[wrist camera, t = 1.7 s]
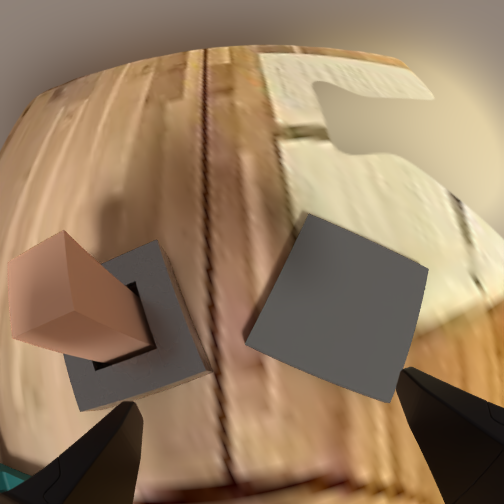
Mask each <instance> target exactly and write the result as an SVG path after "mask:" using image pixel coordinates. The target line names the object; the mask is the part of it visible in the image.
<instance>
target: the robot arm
mask: <svg viewBox="0 0 504 504" xmlns="http://www.w3.org/2000/svg"><path fill="white" fill-rule="evenodd" d="M396 392H397V395H398V397H399V400H400V403H401V405H402V408H403V411H404V414H405V416H406V419H407V422H408V424H409V427H410V429H411V431H412V433H413V435H414V437H415V439H416V441H417V443H418V445H419V447H420V449H421V451H422V453H423V456H424V458H425V460H426V462H427V464H428V466H429V468H430V471H431V473H432V475H433V477H434V479H435V482H436V484H437V486H438V488H439V491H440V493H441V495H442V498H443V500H444V502H445V504H504V408H503V407H500V406H498V405H495V404H493V403H490V402H487V401H486V400H483V399H481V398H479V397H477V396H474V395H472V394H470V393H468V392H465V391H463V390H461V389H459V388H457V387H454V386H452V385H450V384H448V383H446V382H444V381H441V380H439V379H437V378H435V377H433V376H431V375H428V374H426V373H424V372H422V371H420V370H418V369H416V368H414V367H408V368H405V369H402V370H401V371H400V374H399V378H398V381H397V385H396ZM142 433H143V417H142V415H141V413H140V411H139V409H138V407H137V405H136V403H135V402H133V401H123V402H121V403H120V404H119V405H118V406H117V407H116V408H114V409H113V410H112V411H111V412H110V413H109V414H108V415H106V416H105V417H104V418H103V419H102V420H101V421H99V422H98V423H97V424H96V425H95V426H94V427H93V428H91V429H90V430H89V431H88V432H87V433H86V434H84V435H83V436H82V437H81V438H80V439H78V440H77V441H76V442H75V443H74V444H73V445H71V446H70V447H69V448H68V449H67V450H65V451H64V452H63V453H62V454H61V455H60V456H59V457H57V458H56V459H55V460H53V461H52V462H51V463H50V464H48V465H47V466H46V467H45V468H43V469H42V470H41V471H39V472H38V473H36V474H35V475H33V476H32V477H30V478H28V479H27V480H25V481H24V482H22V483H20V484H19V485H17V486H16V487H14V488H12V489H10V490H9V491H6V492H2V493H0V504H133V498H134V492H135V486H136V481H137V475H138V470H139V465H140V458H141V446H142Z"/></svg>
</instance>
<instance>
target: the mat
mask: <svg viewBox="0 0 504 504" xmlns="http://www.w3.org/2000/svg"><path fill="white" fill-rule="evenodd" d="M428 270H429V269H428V268H426V267H424V266H422V265H420V264H418V263H416V262H414V261H412V260H410V259H408V258H406V257H404V256H402V255H400V254H398V253H395V252H393V251H391V250H389V249H387V248H385V247H383V246H381V245H379V244H376V243H374V242H372V241H370V240H368V239H366V238H363V237H361V236H359V235H357V234H355V233H352V232H350V231H348V230H346V229H343V228H341V227H339V226H337V225H334V224H332V223H330V222H327V221H325V220H323V219H320V218H318V217H316V216H313V215H311V214H308V216H307V218H306V221H305V223H304V225H303V227H302V229H301V231H300V233H299V236H298V238H297V240H296V242H295V244H294V246H293V248H292V250H291V252H290V254H289V257H288V259H287V261H286V263H285V265H284V267H283V269H282V271H281V273H280V275H279V277H278V279H277V281H276V283H275V285H274V287H273V289H272V291H271V293H270V295H269V297H268V299H267V301H266V303H265V305H264V307H263V309H262V311H261V313H260V315H259V317H258V319H257V321H256V323H255V325H254V327H253V329H252V331H251V333H250V335H249V337H248V339H247V341H246V343H245V345H247V346H249V347H251V348H253V349H255V350H257V351H259V352H261V353H264V354H266V355H268V356H270V357H272V358H274V359H277V360H279V361H281V362H283V363H286V364H288V365H290V366H292V367H295V368H297V369H299V370H302V371H304V372H306V373H309V374H311V375H313V376H316V377H318V378H321V379H323V380H326V381H328V382H331V383H333V384H336V385H338V386H341V387H343V388H346V389H349V390H351V391H354V392H357V393H359V394H362V395H365V396H368V397H370V398H373V399H376V400H379V401H382V402H385V403H390V402H391V399H392V397H393V394H394V392H395V389H396V385H397V381H398V378H399V374H400V371H401V370H402V369H403V367H404V364H405V361H406V358H407V355H408V351H409V348H410V345H411V342H412V338H413V335H414V331H415V327H416V324H417V320H418V316H419V312H420V308H421V304H422V299H423V295H424V290H425V285H426V280H427V275H428Z"/></svg>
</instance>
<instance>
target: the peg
mask: <svg viewBox="0 0 504 504" xmlns="http://www.w3.org/2000/svg"><path fill="white" fill-rule="evenodd" d="M8 297H9V312H10V322H11V331H12V338H13V339H16V340H19V341H22V342H25V343H29V344H32V345H35V346H38V347H42V348H45V349H49V350H52V351H56V352H60V353H64V354H68V355H71V356H76V357H80V358H84V359H88V360H93V361H98V362H103V363H107V364H113V365H114V364H117V363H120V362H123V361H125V360H128V359H131V358H134V357H136V356H139V355H142V354H144V353H147V352H150V351H152V350H155V349H157V346H156V344H155V341H154V338H153V335H152V332H151V329H150V326H149V323H148V320H147V317H146V314H145V311H144V308H143V305H142V302H141V298H139V297H138V296H137V295H136V294H134V293H133V292H132V291H131V290H130V289H128V288H127V287H126V286H125V285H124V284H122V283H121V282H120V281H119V280H118V279H117V278H115V277H114V276H113V275H112V274H111V273H110V272H109V271H107V270H106V269H105V268H104V267H103V266H102V265H101V264H100V263H98V262H97V261H96V260H95V259H94V258H93V257H92V256H91V255H90V254H89V253H88V252H86V251H85V250H84V249H83V248H82V247H81V246H80V245H79V244H78V243H77V242H76V241H75V240H74V239H73V238H72V237H71V236H70V235H69V234H68V233H67V232H66V231H65V230H62V231H61V232H59V233H57V234H55V235H53V236H51V237H50V238H48V239H46V240H44V241H42V242H41V243H39V244H37V245H35V246H34V247H32V248H30V249H29V250H27V251H25V252H24V253H22V254H20V255H19V256H17V257H15V258H14V259H12V260H10V261H9V262H8Z"/></svg>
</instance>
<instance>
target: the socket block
mask: <svg viewBox="0 0 504 504" xmlns="http://www.w3.org/2000/svg"><path fill="white" fill-rule="evenodd" d="M101 265H102V266H103V267H104V268H105V269H106V270H107V271H109V272H110V273H111V274H112V275H113V276H114V277H115V278H117V279H118V280H119V281H120V282H121V283H122V284H124V285H125V286H126V287H127V288H128V289H130V290H131V291H132V292H133V293H134V294H136V295H137V296H138V297H139V298H141V302H142V305H143V308H144V311H145V314H146V317H147V320H148V323H149V326H150V329H151V332H152V335H153V338H154V341H155V344H156V346H157V349H155V350H152V351H150V352H147V353H144V354H142V355H139V356H136V357H134V358H131V359H128V360H125V361H123V362H120V363H117V364H114V365H112V364H107V363H103V362H98V361H93V360H88V359H84V358H80V357H76V356H71V355H68V354H64V353H63V355H64V359H65V363H66V367H67V371H68V374H69V378H70V382H71V385H72V388H73V392H74V395H75V398H76V401H77V404H78V407H79V410H80V412H84V411H96V410H103V409H107V408H110V407H114V406H117V405H119V404H120V403H121V402H123V401H133V400H137V399H140V398H143V397H146V396H149V395H152V394H155V393H158V392H161V391H164V390H167V389H170V388H172V387H175V386H178V385H181V384H183V383H186V382H189V381H191V380H194V379H197V378H199V377H202V376H204V375H207V374H210V373H212V372H213V370H212V368H211V366H210V363H209V361H208V359H207V357H206V354H205V352H204V350H203V347H202V345H201V342H200V340H199V338H198V335H197V333H196V330H195V328H194V325H193V323H192V320H191V318H190V315H189V313H188V310H187V308H186V305H185V302H184V300H183V297H182V294H181V292H180V289H179V286H178V284H177V281H176V278H175V275H174V272H173V270H172V267H171V264H170V261H169V258H168V256H167V255H166V253H165V251H164V250H163V248H162V247H161V245H160V244H159V242H158V240H155V241H152V242H150V243H148V244H145V245H143V246H141V247H138V248H136V249H134V250H132V251H129V252H127V253H125V254H123V255H120V256H118V257H116V258H114V259H111V260H109V261H107V262H105V263H103V264H101Z"/></svg>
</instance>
